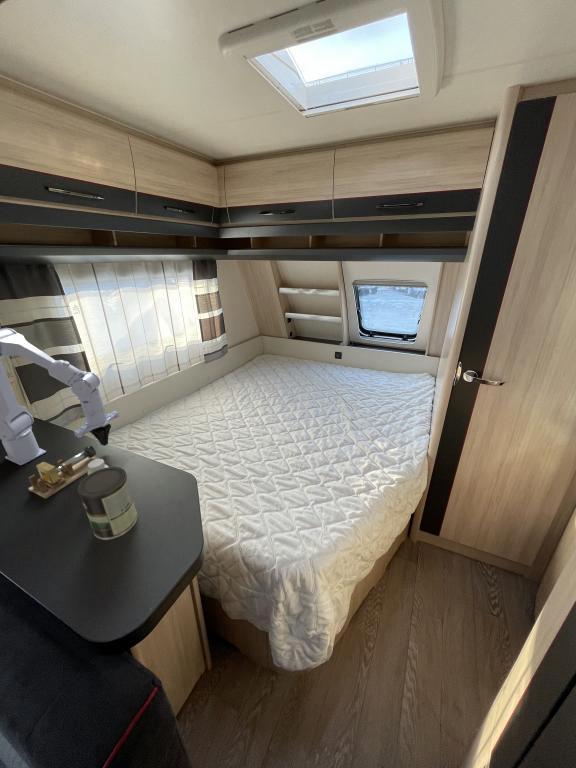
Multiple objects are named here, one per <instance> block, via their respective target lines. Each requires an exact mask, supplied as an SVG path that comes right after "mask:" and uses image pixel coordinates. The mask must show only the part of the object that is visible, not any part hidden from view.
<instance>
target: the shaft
mask: <svg viewBox="0 0 576 768" xmlns="http://www.w3.org/2000/svg"><path fill="white" fill-rule="evenodd" d="M95 449H96V448H94V447H93V446H92V445H87V446H84V447H83V449H82V451H81V452H80V453H78V454H76V455H74V456H73V457H71V458H69V459H67V460H65V461H63V462H64V463H62V464H61V466H60V467H59V466H58V467H56V469H57V472H58V473H59V472H61V471H63V470H67V468H66V466H65V465H66V464H68V463H71V465H72V466H74V465H75V464H77V463H79V462H80V461H82V460H84V459H85V458H87V457H88V458H92V457H96V455H97V452H96V450H95Z"/></svg>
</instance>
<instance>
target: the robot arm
mask: <svg viewBox="0 0 576 768" xmlns="http://www.w3.org/2000/svg"><path fill="white" fill-rule="evenodd" d="M15 356H16V357H17V356H18V357H22V358H24V359H25V360H28V361H29V362H31V363H34V364H36V365H37V366H40V367H42V368H44V369H46V370H47V372H48V375H49V376H50V377H52V378H54V379H56V380H58V381H59V382H61V383H63V384H65V385H67V386H68V387H70V390H71V392H72V393H73V394H74V395H76V396H77V399H78V400H79V402H80V406H81V408H82V411H83V414H84V418H85V421H86V422H85V424H83V425H82V426H81V427H80V428H78V429H75V430H74V432H73V433H74V435H75V437H76V438H79V439H81V438H83V436H84V435H86V434H88V433H90V434H91V435H93V436H94V437H95V438H96V439H97V441H98V442H99V444H100V445H101V446H103V447H104V446H107V445H109V436H110V435H109V434H110V430H111V428H112V424H111V423H109V422H110V421H113V420H114V419H119V418H120V417H121V416H120V413H119V411H116V410H114V411H112V412H109V413H106V411H105V407H104V404H103V401H102V397H101V394H100V391H99V386H100V383H101V380H100V378H99V377H98V376H97V375H96V374H95V373H94V372H91V371H87V372H86V371H84V370H81V369H79V368H77V367H75V366H74V365H72V364H70V362H69V361H67V360H64V359H57V360H56V359H54V358H53V357H51V356H50V355H49V354H47V353H46V352H44V351H42V350H41V349H39V348H38V347H36V346H35V345H33V344H31V343H30V342H29V341H27V340H26V337H25V336H24V335H23V334H21V333H18V332H17V331H16V330H14V329H13V328H9V327H4V328H3V327H2V328H0V440H1V443H2V445H3V448H4V450H5V452H6V453H7V455H6V456H5V459H6V460H8V461H11V462H12V463H15V464H17V465H19V466H22V465H25V464H27V463H28V462H31V461H32V460H34V459H36V458H38V457H40V456H42V455H43V454H45V453H47V450H44V449H42V448H40V447H39V445H38V442H37V440H36V439H37V438H36V437H35V435H34V432H33V430H32V429H33V426H32V424H33V423H34V421H35V419H34V416H33V415H32V414H31V412H29V411H28V409H27V407H26V406H23V405H20V404H19V402H18V400H17V398H16V395H15V393H14V390H13V388H12V385H11V383H10V381H9V378H8V376H7V373H6V371H5V368H4V366H3V363H2V360H3V358H5V357H15Z"/></svg>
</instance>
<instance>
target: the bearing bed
mask: <svg viewBox="0 0 576 768" xmlns="http://www.w3.org/2000/svg"><path fill="white" fill-rule="evenodd" d="M95 459H101V458H99V457H97V456H94V457H92V458H88V457H87V458H85V459H84V460H82V461H80V462H79V463H77V464H75V465H74V466H72V465H71V463H68V464H66V465H65V466H66V468H67V470H63V471H61V472H59V473H58V474H59V477H60V479H61V481H60V482H58V483H57V484H55V485H54V486H53V485H50V484H48V483H46V482H45V481H44V479H42V478H41V477H40V478H37V476H36V475H35V474H32V475H30V476H29V477H28V480H29V482H30V484H31V486H30V487H28V490H29V491H30V492H32V493H33V494H35V495H38V496H39V497H42V498H43V499H46V500H47V499H48V498H49V497H51V496H52V495H54V494H55V493H57V492H59V491H61V490H62V489H64V488H65V487H67V486H68V485H70V484H71V483H72V482H74V481H76V480H77V479H80V478H81V477H82V476H84V475H85V474H86V473H87V474H88V471H89V469H88V464H89V463H90V462H91V461H93V460H95ZM56 462H57V465H58V467H60V466H61V464H62V463H64V462H65V461H64V460H63V459H62V458H61V459H59V460H58V461H56Z"/></svg>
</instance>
